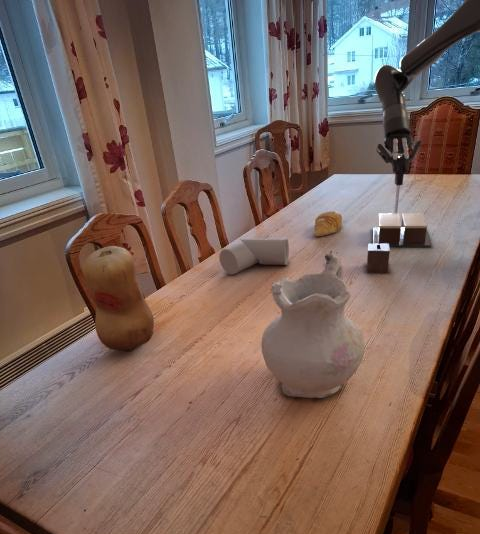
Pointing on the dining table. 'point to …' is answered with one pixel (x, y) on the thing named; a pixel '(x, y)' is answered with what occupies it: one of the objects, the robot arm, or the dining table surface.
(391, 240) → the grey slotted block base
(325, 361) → the ceramic pitcher
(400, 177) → the knife
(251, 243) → the bent grey cylinder
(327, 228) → the croissant
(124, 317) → the butternut squash
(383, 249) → the knife block
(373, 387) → the dining table surface
